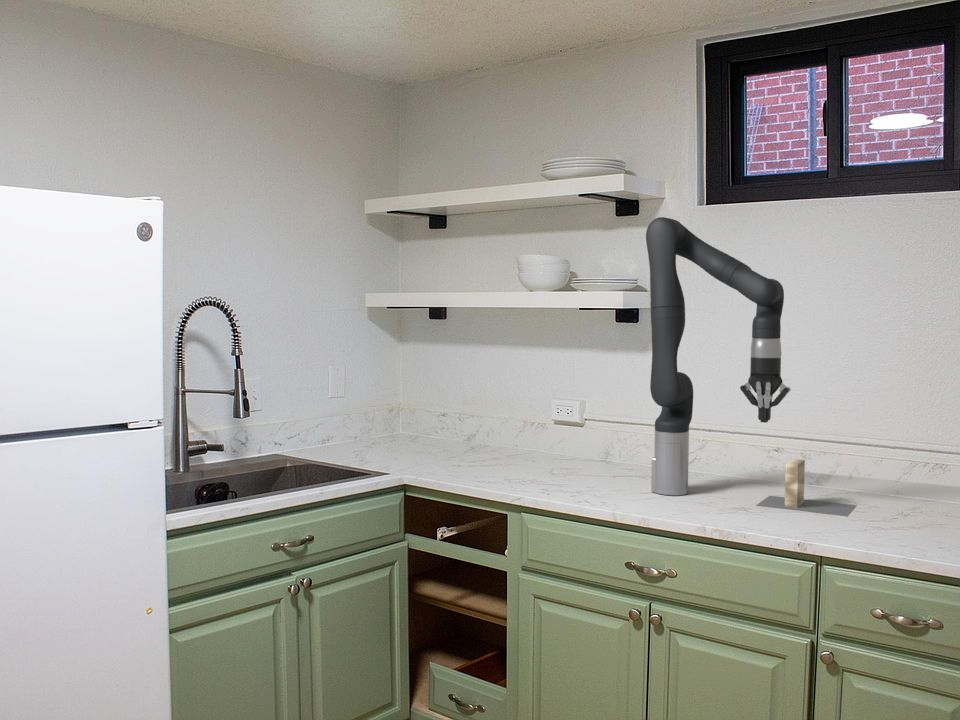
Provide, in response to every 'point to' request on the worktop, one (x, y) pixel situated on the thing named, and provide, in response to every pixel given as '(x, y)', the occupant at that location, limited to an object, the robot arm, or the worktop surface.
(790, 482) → the cream brown rectangular block
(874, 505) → the worktop surface
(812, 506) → the rubber mat
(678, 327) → the robot arm
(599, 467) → the worktop surface
